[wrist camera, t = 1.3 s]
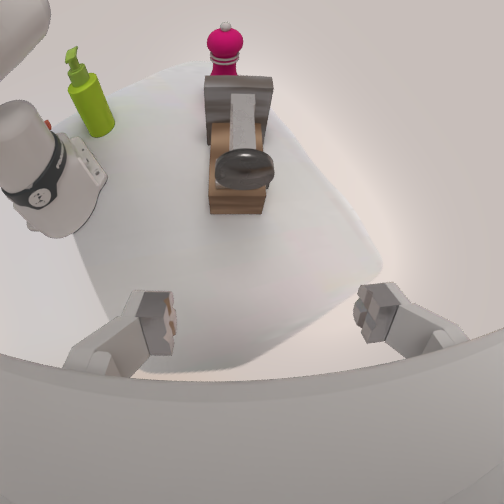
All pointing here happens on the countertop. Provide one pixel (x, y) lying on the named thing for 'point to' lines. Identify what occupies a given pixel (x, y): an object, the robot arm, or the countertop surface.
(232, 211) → the stand
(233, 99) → the plunger
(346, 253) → the countertop surface
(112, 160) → the countertop surface
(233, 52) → the pepper mill
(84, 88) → the soap dispenser
